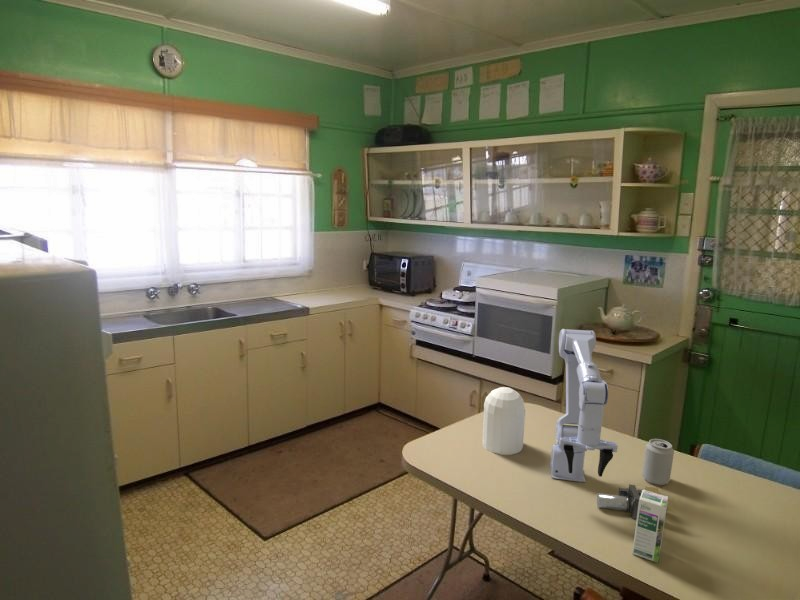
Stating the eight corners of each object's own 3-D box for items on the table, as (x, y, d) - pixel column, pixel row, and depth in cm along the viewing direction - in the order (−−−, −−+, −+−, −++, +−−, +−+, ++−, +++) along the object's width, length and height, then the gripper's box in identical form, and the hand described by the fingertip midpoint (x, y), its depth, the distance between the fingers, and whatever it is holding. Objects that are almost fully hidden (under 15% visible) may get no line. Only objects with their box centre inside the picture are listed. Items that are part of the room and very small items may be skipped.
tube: (598, 510, 145) (600, 497, 144) (596, 502, 149) (597, 490, 148) (646, 516, 143) (647, 503, 142) (642, 508, 146) (644, 496, 146)
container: (474, 445, 180) (476, 389, 175) (495, 431, 190) (497, 377, 185) (510, 459, 171) (513, 400, 166) (530, 443, 181) (534, 387, 176)
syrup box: (631, 554, 128) (638, 499, 125) (635, 541, 133) (642, 487, 130) (657, 563, 125) (666, 507, 122) (660, 549, 130) (669, 495, 127)
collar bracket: (625, 517, 142) (628, 498, 141) (617, 497, 152) (620, 478, 151) (666, 523, 140) (669, 503, 139) (655, 502, 150) (658, 483, 149)
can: (672, 488, 157) (678, 450, 155) (644, 484, 159) (650, 447, 156) (665, 475, 164) (670, 438, 162) (639, 472, 166) (644, 435, 163)
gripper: (563, 429, 140) (558, 477, 143) (622, 434, 138) (616, 483, 140) (560, 418, 147) (555, 464, 150) (616, 423, 145) (610, 470, 147)
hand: (584, 473), depth 146 cm, fingers open, 7 cm apart
